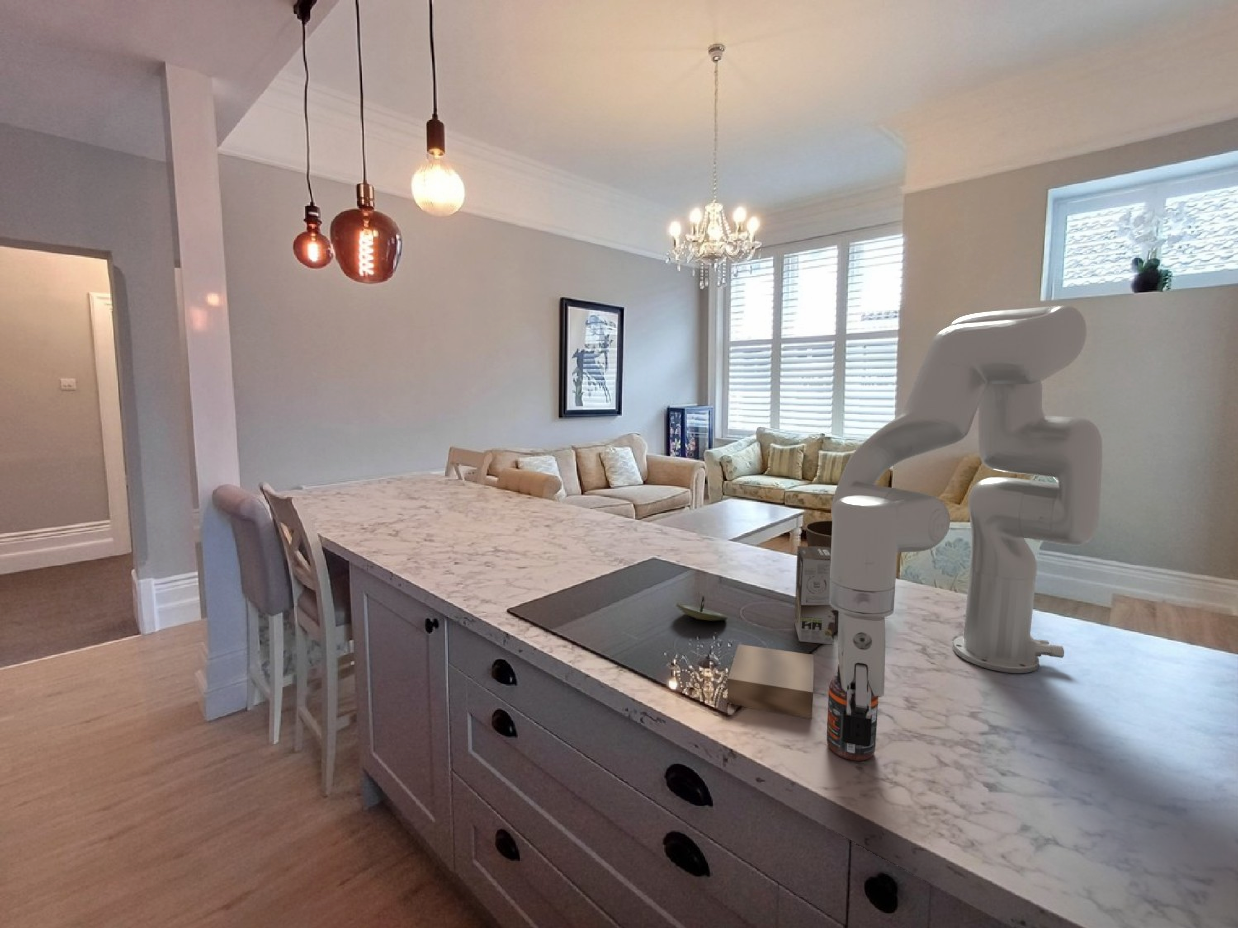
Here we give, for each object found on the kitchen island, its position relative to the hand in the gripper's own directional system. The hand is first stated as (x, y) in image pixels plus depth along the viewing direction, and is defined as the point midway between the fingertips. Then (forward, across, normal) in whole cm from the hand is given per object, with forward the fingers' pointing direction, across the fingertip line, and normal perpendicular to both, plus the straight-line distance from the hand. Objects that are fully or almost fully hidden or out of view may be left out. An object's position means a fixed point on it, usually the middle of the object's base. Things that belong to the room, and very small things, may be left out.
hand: (854, 726), depth 74 cm
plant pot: (+4, +57, 0) cm, 57 cm away
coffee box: (+4, +36, +5) cm, 36 cm away
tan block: (+3, +12, +11) cm, 17 cm away
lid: (+4, +35, +27) cm, 44 cm away
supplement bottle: (+3, 0, 0) cm, 3 cm away
